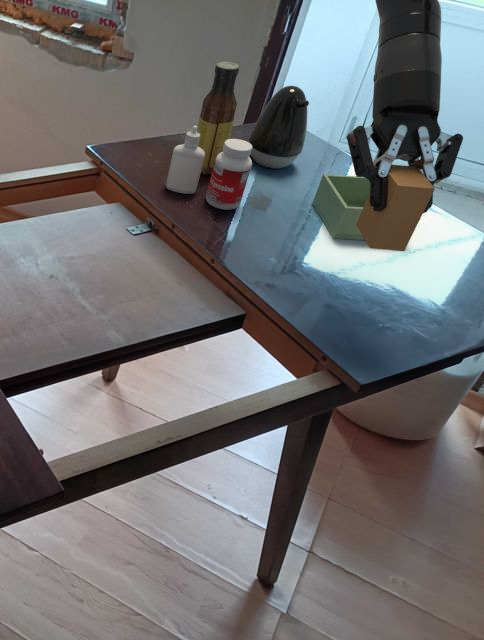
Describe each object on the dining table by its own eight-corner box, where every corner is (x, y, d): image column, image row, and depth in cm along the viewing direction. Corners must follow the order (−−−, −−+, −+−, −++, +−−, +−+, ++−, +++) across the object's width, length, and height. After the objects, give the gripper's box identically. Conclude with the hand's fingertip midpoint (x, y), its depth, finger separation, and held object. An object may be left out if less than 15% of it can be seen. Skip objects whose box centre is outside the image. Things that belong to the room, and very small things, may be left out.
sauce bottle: (222, 165, 135) (249, 61, 122) (221, 179, 131) (250, 73, 118) (188, 160, 136) (212, 57, 123) (187, 174, 132) (211, 68, 119)
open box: (378, 207, 125) (391, 178, 122) (404, 243, 116) (419, 212, 112) (312, 203, 125) (323, 173, 121) (332, 238, 116) (345, 207, 112)
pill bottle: (198, 200, 124) (212, 142, 116) (217, 191, 127) (233, 133, 120) (227, 214, 120) (244, 155, 113) (246, 204, 124) (264, 146, 116)
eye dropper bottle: (185, 198, 124) (200, 135, 116) (161, 186, 127) (174, 124, 119) (200, 191, 126) (215, 128, 118) (175, 180, 129) (189, 118, 121)
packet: (388, 227, 94) (417, 166, 88) (404, 251, 89) (435, 188, 83) (355, 224, 94) (381, 163, 88) (369, 248, 89) (398, 185, 83)
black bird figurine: (260, 176, 132) (284, 98, 122) (235, 153, 140) (256, 77, 130) (306, 173, 135) (334, 96, 125) (279, 150, 142) (303, 76, 132)
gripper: (365, 62, 84) (357, 198, 83) (482, 71, 84) (476, 208, 83) (337, 90, 92) (330, 215, 90) (445, 98, 91) (439, 224, 90)
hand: (400, 210), depth 87 cm, fingers closed on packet, 4 cm apart
